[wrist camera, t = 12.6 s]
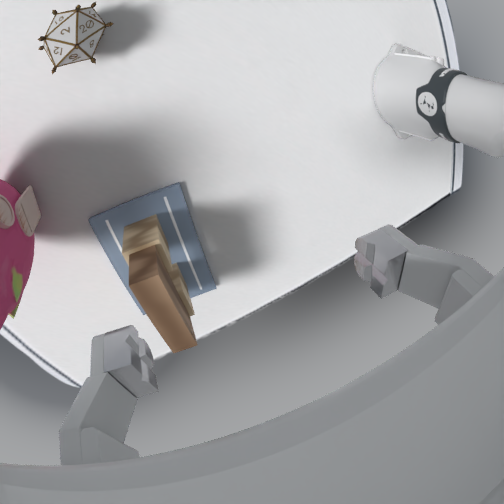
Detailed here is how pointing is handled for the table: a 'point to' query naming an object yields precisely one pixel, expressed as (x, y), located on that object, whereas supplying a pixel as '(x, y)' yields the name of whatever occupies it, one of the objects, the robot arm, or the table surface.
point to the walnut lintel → (160, 299)
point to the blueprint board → (175, 230)
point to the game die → (73, 36)
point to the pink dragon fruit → (15, 245)
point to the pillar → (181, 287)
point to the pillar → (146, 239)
